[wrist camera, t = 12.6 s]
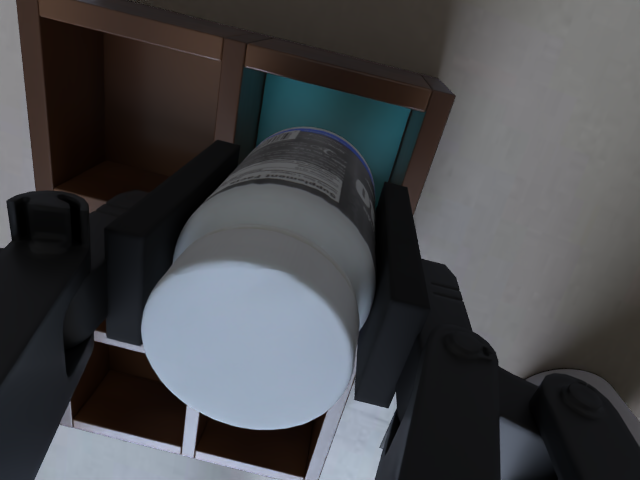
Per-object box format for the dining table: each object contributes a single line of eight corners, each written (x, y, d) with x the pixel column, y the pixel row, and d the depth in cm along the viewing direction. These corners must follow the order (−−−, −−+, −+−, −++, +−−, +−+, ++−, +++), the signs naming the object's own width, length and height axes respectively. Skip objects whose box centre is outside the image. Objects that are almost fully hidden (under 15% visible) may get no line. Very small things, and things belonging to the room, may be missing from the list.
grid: (438, 78, 19) (456, 95, 15) (323, 424, 29) (315, 489, 25) (92, -9, 19) (13, -16, 15) (103, 368, 29) (59, 425, 25)
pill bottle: (364, 259, 16) (356, 464, 9) (241, 240, 16) (131, 425, 9) (387, 132, 14) (400, 264, 7) (243, 114, 14) (100, 220, 7)
